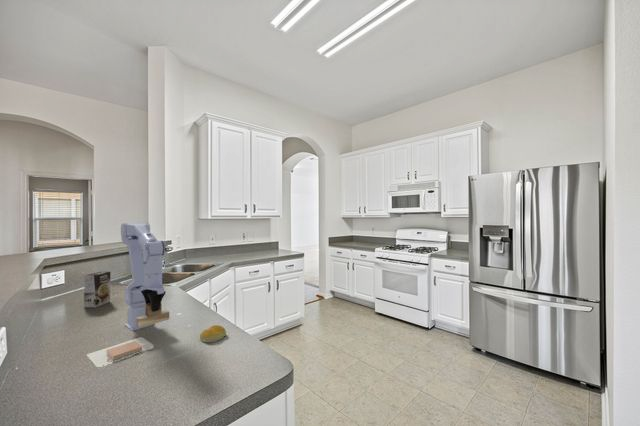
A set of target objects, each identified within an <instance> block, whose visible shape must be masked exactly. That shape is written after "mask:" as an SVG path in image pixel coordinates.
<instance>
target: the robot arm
mask: <svg viewBox="0 0 640 426" xmlns="http://www.w3.org/2000/svg"><path fill="white" fill-rule="evenodd" d="M120 235H121V236H120V238H121V241H122V244H124V245H126V246H127V249H128V256H129V264H130V265H129V266H130V271H131V279H132V282H130V283H129V284H128V285H126V288H125V290H124V292H125V294H124V300H125V304H126V305H127V306H128V308H127V317H126V318H127V323H124V326H125V327H126V328H128V329H129V330H131V331H132V332H133V331H137V330H141V329H144V328H147V327H150V326H154V325H155V324H152V325H148V326H145V327H141V328H139V327H138V326H137V317H141V316H145V304H148V303H151V309H152V312H154V311H158V310H159V308H160V304H162V300H163V298H164V297H165V296H166V291H165V287H164V284H163V256H164V255H165V252H166V246H165V243H164V240H158V239H157V237H156V236H155V235H154V234H153V233H152V232H151V225H150V223H149V222H148V221H145V222H140V221H139V222H125V221H123V222H122V223H121V225H120Z"/></svg>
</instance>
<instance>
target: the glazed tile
mask: <svg viewBox="0 0 640 426" xmlns="http://www.w3.org/2000/svg"><path fill="white" fill-rule="evenodd" d="M140 351H142V346H141V345H140V344H138V343H137V342H136V341H133V342H130V343H127V344H124V345H121V346H118V347H115V348H111V349H108V350H107V353H106V354H107V355H108V356H109V357H110V358H111V359H112V360H113V361H115V360H118V359H120V358H123V357H126V356H129V355H132V354H134V353H137V352H140Z"/></svg>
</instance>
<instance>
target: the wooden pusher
mask: <svg viewBox="0 0 640 426" xmlns="http://www.w3.org/2000/svg"><path fill="white" fill-rule="evenodd" d="M169 320H170V311H169V310H166V309H165V310H162V303H161V304H160V308H159V310H158V311H154V312H152V309H151V303H148V304H145V316H141V317H137V326H138V327H139V328H141V327H144V328H146V327H145V326H148V325H151V326H153V325H152V324H154V325H156V324H158V323H162V322H164V321H169ZM148 327H149V326H148ZM141 329H142V328H141Z"/></svg>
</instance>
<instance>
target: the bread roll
mask: <svg viewBox="0 0 640 426" xmlns="http://www.w3.org/2000/svg"><path fill="white" fill-rule="evenodd" d="M226 335H227V331H226V329H225V328H224V327H223V326H221V325H218V324H216V325H215V324H214V325H211V326H210V327H208V329H207V328H206V329H205V330H203V331H201V333H200V335H199V339H200V341H201V342H202V341H203V342H202V343H205V342H210V343H213V342H212V341H216V342H218V341H217V340H219V339H220V340H222V339H223V337H224V336H225V337H226ZM221 338H222V339H221ZM220 340H219V341H220Z"/></svg>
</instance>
